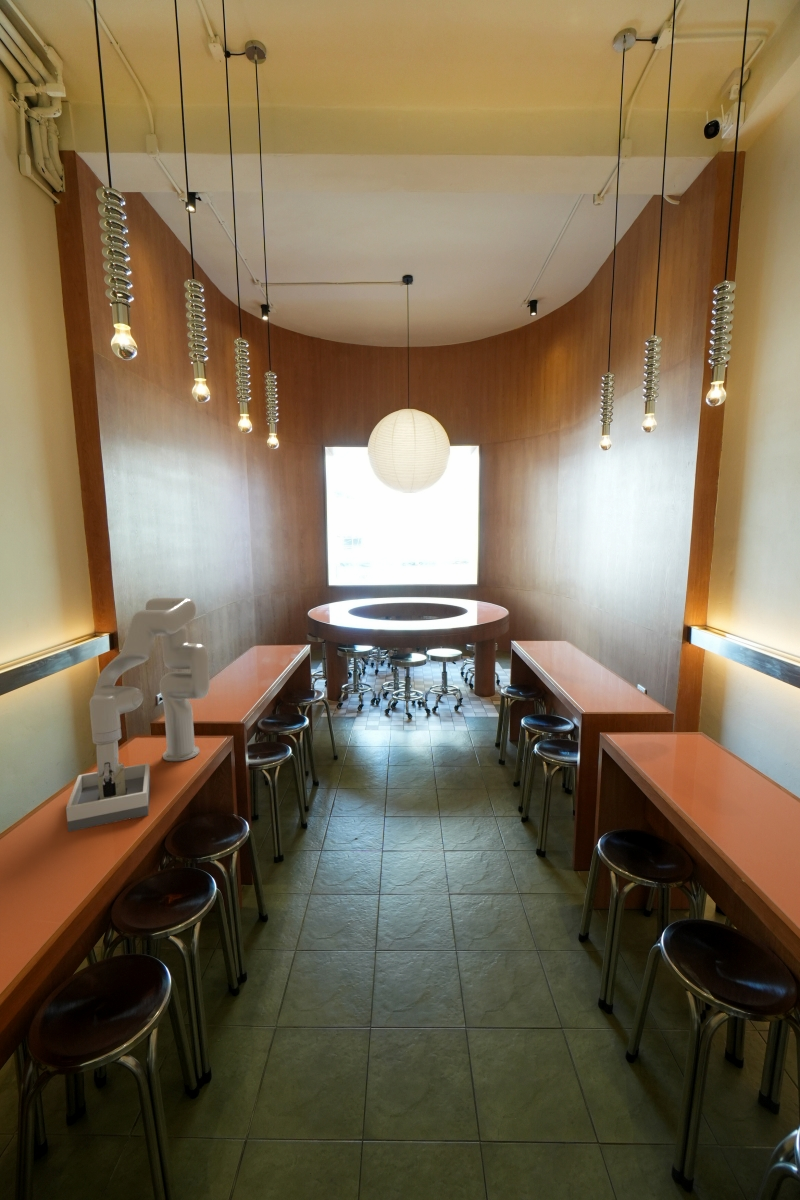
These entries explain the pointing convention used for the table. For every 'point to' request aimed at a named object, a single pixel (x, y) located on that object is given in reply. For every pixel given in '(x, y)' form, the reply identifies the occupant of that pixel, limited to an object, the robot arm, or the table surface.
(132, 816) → the bore box
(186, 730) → the robot arm
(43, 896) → the table surface
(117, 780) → the skincare box
